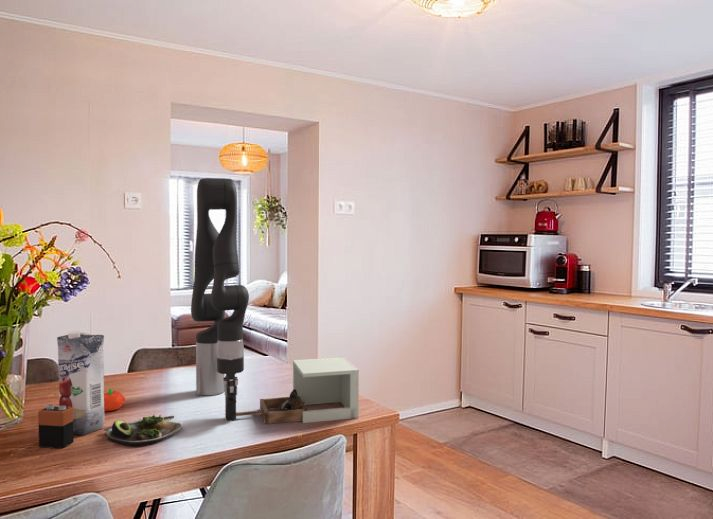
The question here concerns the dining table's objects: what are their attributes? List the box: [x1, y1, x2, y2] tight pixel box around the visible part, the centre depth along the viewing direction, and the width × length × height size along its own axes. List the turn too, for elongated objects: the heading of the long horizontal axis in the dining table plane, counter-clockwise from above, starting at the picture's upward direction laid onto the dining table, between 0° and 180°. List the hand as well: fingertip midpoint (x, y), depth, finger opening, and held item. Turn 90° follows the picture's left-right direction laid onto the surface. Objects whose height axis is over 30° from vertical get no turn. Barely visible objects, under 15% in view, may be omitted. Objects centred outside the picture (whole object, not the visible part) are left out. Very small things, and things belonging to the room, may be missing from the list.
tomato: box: [104, 388, 126, 412], centre depth 164 cm, size 7×8×6 cm
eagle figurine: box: [278, 389, 304, 411], centre depth 161 cm, size 8×7×9 cm
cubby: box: [292, 356, 360, 424], centre depth 163 cm, size 16×17×14 cm
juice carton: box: [56, 330, 105, 437], centre depth 146 cm, size 9×10×27 cm
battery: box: [37, 403, 75, 449], centre depth 136 cm, size 4×7×10 cm, turn 82°
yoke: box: [224, 395, 309, 425], centre depth 158 cm, size 22×14×7 cm, turn 106°
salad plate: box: [102, 414, 183, 448], centre depth 145 cm, size 19×18×5 cm
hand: (230, 414), depth 156 cm, fingers closed on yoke, 3 cm apart
